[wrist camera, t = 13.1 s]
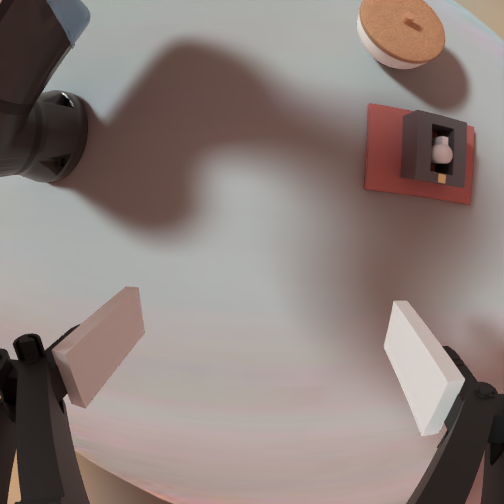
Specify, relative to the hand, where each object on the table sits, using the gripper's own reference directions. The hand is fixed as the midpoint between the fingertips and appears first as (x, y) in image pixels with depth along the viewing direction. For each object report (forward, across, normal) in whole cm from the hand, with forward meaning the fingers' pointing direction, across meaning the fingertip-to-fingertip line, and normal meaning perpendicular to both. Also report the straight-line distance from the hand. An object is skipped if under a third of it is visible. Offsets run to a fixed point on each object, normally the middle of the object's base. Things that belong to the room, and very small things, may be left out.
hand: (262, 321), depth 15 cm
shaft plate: (+25, +19, +10) cm, 33 cm away
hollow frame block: (+24, +19, +11) cm, 33 cm away
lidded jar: (+26, +15, +26) cm, 39 cm away
